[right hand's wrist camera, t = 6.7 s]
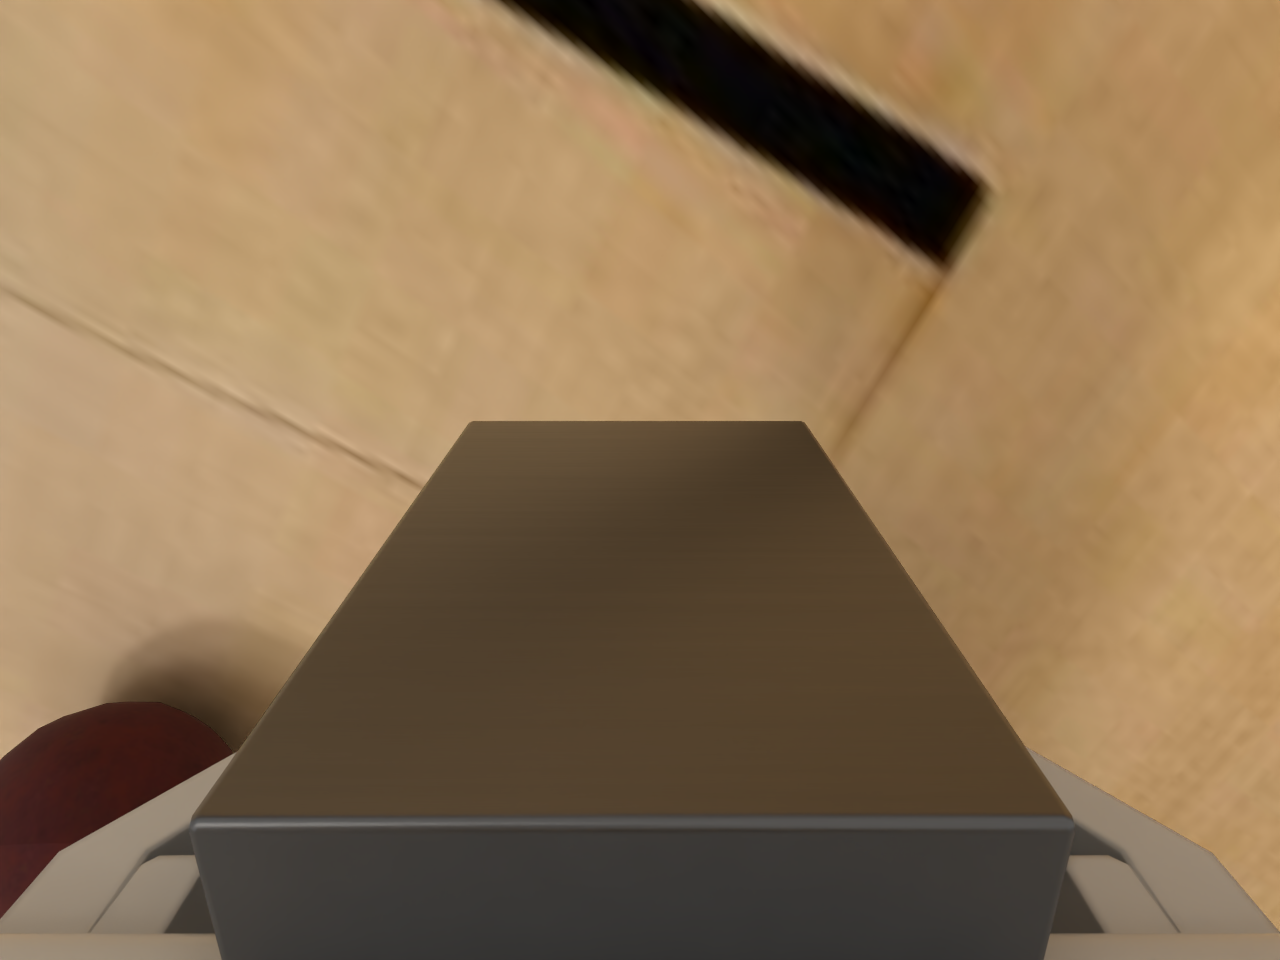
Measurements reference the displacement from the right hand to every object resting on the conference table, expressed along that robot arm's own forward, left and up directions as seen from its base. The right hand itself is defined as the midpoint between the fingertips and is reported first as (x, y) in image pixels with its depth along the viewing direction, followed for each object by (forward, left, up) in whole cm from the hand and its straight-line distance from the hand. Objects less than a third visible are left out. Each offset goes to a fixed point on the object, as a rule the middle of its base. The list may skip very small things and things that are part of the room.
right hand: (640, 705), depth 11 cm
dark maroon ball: (+12, -16, -14) cm, 25 cm away
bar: (+9, 0, -3) cm, 9 cm away
